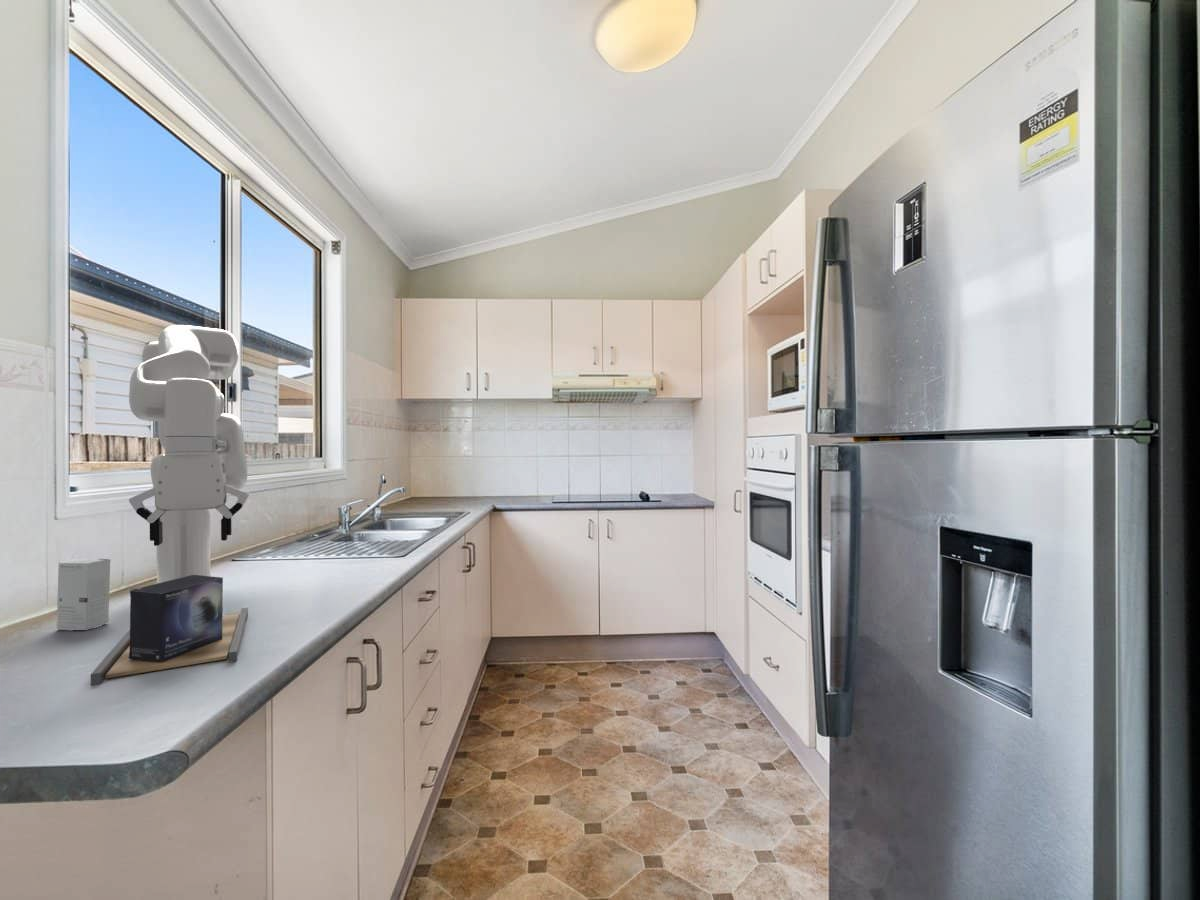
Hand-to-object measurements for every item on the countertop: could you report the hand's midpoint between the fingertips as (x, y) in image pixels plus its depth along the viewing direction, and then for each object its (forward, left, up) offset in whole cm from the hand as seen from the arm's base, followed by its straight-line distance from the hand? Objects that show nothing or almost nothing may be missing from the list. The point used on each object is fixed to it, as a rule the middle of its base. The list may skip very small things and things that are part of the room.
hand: (192, 542), depth 98 cm
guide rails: (+10, 0, -15) cm, 18 cm away
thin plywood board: (+10, 0, -15) cm, 18 cm away
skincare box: (-10, -17, -16) cm, 25 cm away
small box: (+15, 0, -15) cm, 21 cm away
